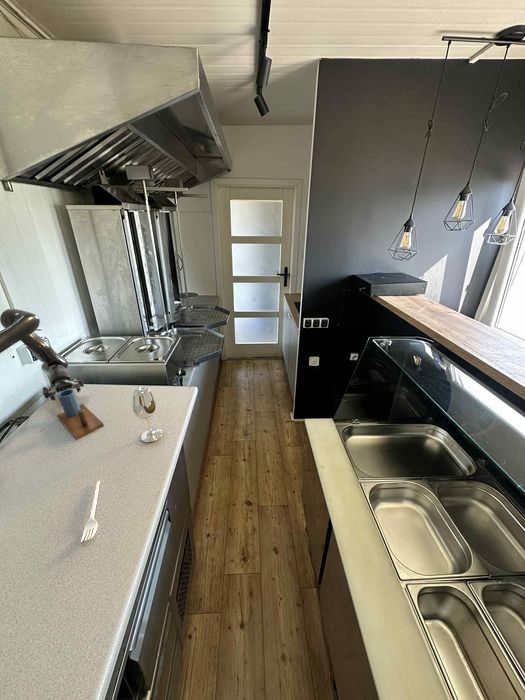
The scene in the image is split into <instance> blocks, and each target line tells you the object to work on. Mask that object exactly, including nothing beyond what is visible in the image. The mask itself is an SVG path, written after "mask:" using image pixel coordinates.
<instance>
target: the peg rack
mask: <svg viewBox="0 0 525 700" xmlns="http://www.w3.org/2000/svg"><path fill="white" fill-rule="evenodd" d="M79 406H80V409H81V410H78V411H77V413H78V415H76V416H74V417H66V415H65V412H64V411H63V412H61V413H59V414H57V415H56V418H57V419H58V421H59V422H60V423H61V424H62V425H63V426H64V427H65V428H66V430H67V431H68V432H69V433H70V434H71V435H72V436H73V438H74V439H75V440H76V441H77V440H79V439H81V438H83V437H85V436H87V435H89V434H91V433H93V432H95V431H97V430H99V429H101V428H102V427H104V426H105V425H104V422H103V421H102V420H100V419H99V418H98V417H97V416H96V415H95V413H93V412H92V411H91V410H90V409H89V408H88V407H87V406H85V404H83V403H81V404H79Z"/></svg>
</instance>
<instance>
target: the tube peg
mask: <svg viewBox="0 0 525 700" xmlns="http://www.w3.org/2000/svg"><path fill="white" fill-rule="evenodd" d="M57 397H58V399H59V402H60V405H61V407H62V410H63V412H65V415H66V417H74V416H76V415H78V413H77V411H78V410H81V409H80V406H79V405H80V404H79V401H78V398H77V395H76V392H75V389H67V390H64V391H61V392H59V393H58V394H57Z"/></svg>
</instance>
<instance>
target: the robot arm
mask: <svg viewBox="0 0 525 700" xmlns="http://www.w3.org/2000/svg"><path fill="white" fill-rule="evenodd" d="M0 324H1V326H2V327H3V329H2V330H0V355H1V354H2V353H3V352H5V351H6V350H8V349H9V348H11V347H12V346H14V345H15V344H17V343H18V342H21V343H23V344H24V345H25V346H26V347H27V348H28V349H29V350H30V351H31V352H32V353H33V354H34V356H35V357H36V358H37V359H38V361H40V363H42V364H41V370H42V372H43V373H44V374H45V375H47V376H48V379H49V382H50V387H46V386H43V387H42V393H43V397H44V399H49V398H50V400H51V401H57V400H56V399H57V398H56V396H58V394H59V393H60V392H62V391H64V390H68V389H72V390H76V392H77V393H80V392H81V388H83V387H84V386H85V385H84V382H83V380H82V378H81V377H80V376H77V377H76V378H75V379H73V378H71V375H70V373H69V372H68V370H67V369H68V367H69V362H68V360H67V359H66V358H65V357H64V356H62V355H61V354H59V353H58V352H56V351H55V350H54V348H53V347H52V346H51V345H50V343H48V342H47V340H45V339H44V338H43V337H41V336H40V335H39V334H37V333H35V332H36V331H37V330H38V328H39V326H40V324H41V320H40V318H39V316H38V315H37V314H35V313H33V312H29V311H27V310H23V309H18V308H7V309H5V310H4V311H2V313H1V314H0Z"/></svg>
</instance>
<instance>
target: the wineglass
mask: <svg viewBox="0 0 525 700" xmlns="http://www.w3.org/2000/svg"><path fill="white" fill-rule="evenodd" d="M131 399H132V410H133V414H134V416H135V417H136V418H138V419H139V420H146V423H147V426H148V429H146V430H145V431H144V432H143V433H141V435H140V440H141V442H144V443H152V442H156V441H157V440H159V439H160V438H161V437H162V436H163V431H162V430H161V428H158V427H151V422H150V419H151V418H153V417H154V415H155V414H156V412H157V409H158V408H157V403H156V399H155V398H154V396H153V394H152V392H151V390H150V388H149V387H145V386H143V387H138V388H136V389H134V390H133V391H132V398H131Z"/></svg>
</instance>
